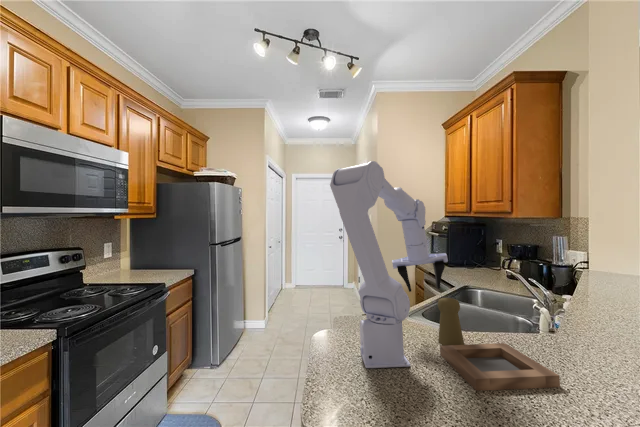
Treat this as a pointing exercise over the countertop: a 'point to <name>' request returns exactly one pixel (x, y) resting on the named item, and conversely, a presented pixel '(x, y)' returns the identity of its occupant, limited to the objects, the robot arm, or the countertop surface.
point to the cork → (449, 322)
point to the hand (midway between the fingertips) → (424, 288)
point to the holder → (497, 367)
